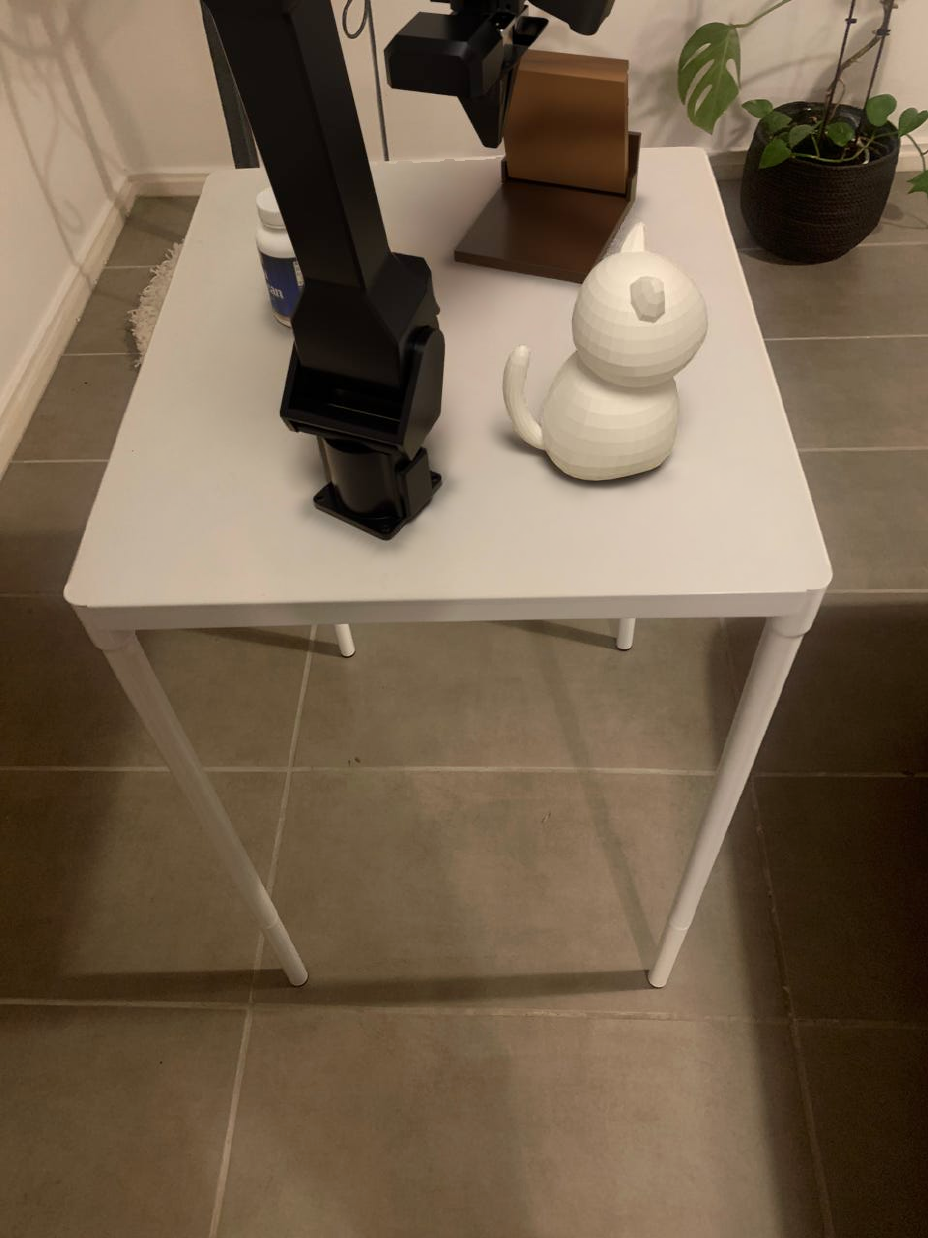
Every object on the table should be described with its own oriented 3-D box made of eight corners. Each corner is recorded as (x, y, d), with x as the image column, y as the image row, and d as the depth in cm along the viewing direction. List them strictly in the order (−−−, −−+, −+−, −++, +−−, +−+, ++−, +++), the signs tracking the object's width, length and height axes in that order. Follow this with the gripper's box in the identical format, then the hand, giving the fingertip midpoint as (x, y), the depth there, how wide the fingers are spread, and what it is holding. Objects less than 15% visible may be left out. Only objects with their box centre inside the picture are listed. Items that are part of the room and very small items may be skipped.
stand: (589, 285, 77) (593, 215, 72) (452, 260, 80) (448, 192, 76) (636, 199, 85) (642, 132, 80) (510, 181, 88) (509, 114, 83)
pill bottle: (262, 309, 77) (232, 195, 70) (317, 284, 79) (294, 170, 72) (296, 339, 75) (269, 223, 67) (352, 312, 76) (332, 196, 69)
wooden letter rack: (624, 81, 73) (635, 56, 73) (492, 66, 76) (504, 42, 76) (625, 194, 83) (634, 170, 83) (508, 176, 86) (518, 154, 86)
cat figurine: (698, 491, 62) (738, 289, 50) (510, 506, 62) (505, 308, 50) (672, 403, 67) (703, 203, 56) (499, 417, 67) (493, 220, 56)
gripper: (567, -66, 46) (559, 232, 58) (665, -174, 56) (641, 100, 68) (363, -81, 49) (397, 206, 61) (492, -180, 59) (498, 83, 71)
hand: (492, 145), depth 65 cm, fingers closed
